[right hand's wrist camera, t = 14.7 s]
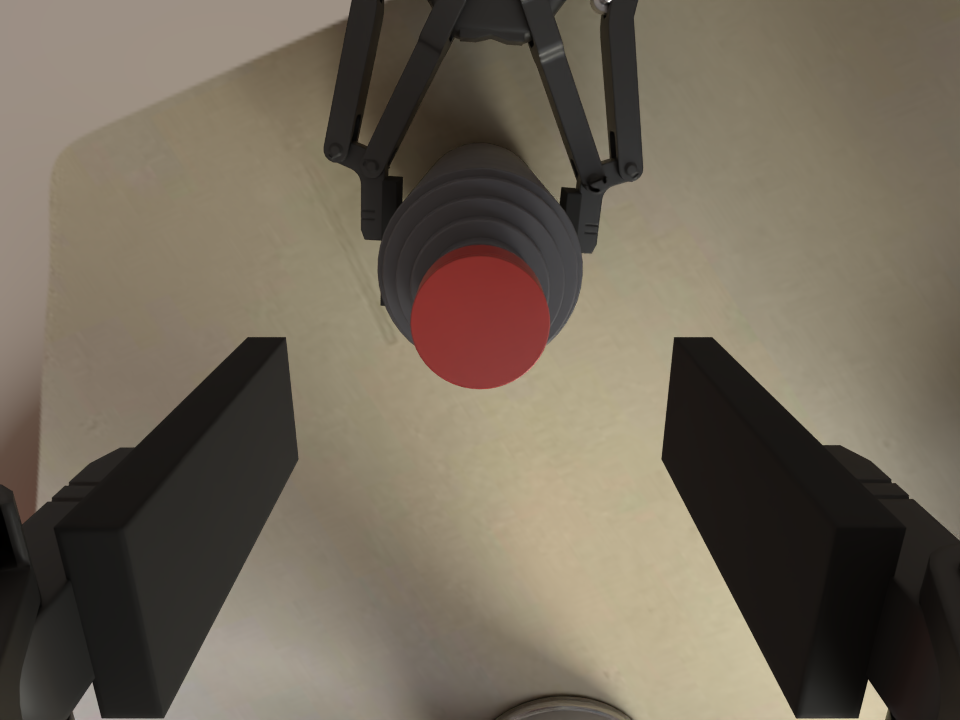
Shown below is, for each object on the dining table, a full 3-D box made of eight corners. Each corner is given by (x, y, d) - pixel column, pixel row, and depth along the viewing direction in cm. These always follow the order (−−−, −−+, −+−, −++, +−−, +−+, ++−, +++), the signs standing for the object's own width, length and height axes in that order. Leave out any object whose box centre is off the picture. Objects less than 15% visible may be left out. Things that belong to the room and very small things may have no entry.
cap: (481, 216, 19) (481, 225, 18) (571, 309, 20) (579, 326, 19) (388, 307, 20) (380, 323, 19) (479, 393, 21) (478, 415, 20)
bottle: (481, 115, 40) (483, 122, 17) (564, 206, 42) (666, 323, 19) (395, 204, 42) (293, 318, 19) (478, 288, 44) (478, 484, 21)
